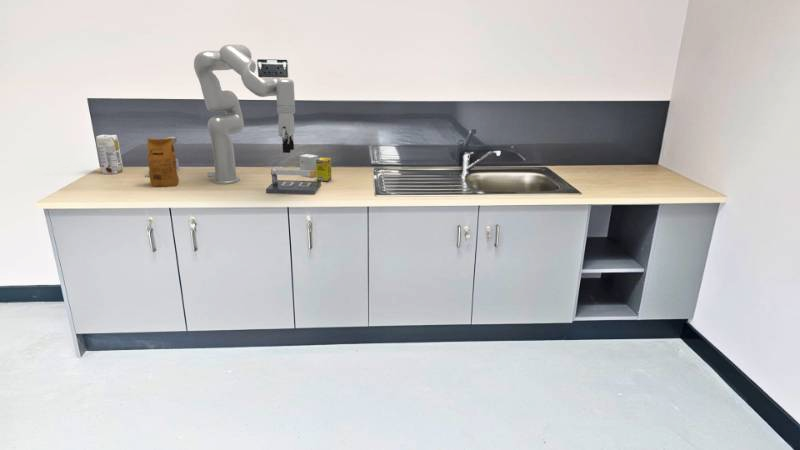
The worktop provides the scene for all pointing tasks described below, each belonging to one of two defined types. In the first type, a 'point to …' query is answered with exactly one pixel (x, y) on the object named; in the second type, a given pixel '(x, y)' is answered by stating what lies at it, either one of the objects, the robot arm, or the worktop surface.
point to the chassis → (293, 187)
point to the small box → (308, 163)
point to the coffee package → (162, 162)
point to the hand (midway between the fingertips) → (288, 150)
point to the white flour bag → (109, 154)
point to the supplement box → (323, 169)
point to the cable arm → (293, 172)
